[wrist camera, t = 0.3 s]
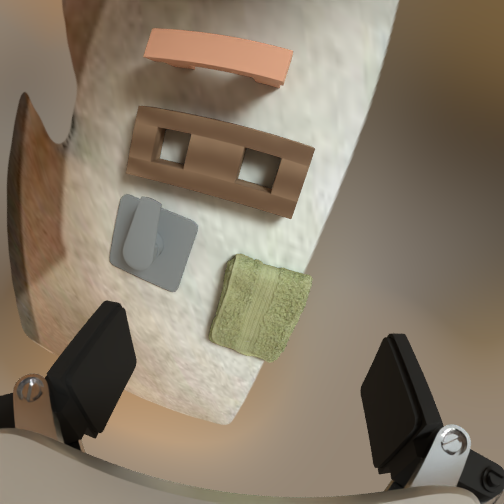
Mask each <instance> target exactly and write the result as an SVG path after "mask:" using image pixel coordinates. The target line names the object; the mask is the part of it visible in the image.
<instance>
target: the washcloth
mask: <svg viewBox="0 0 504 504" xmlns="http://www.w3.org/2000/svg"><path fill="white" fill-rule="evenodd" d="M224 276H225V277H224V280H223V281H224V285H223V289H222V293H221V298H220V302H219V304H218V308H217V311H216V316H215V318H214V320H213V323H212V325H211V328H210V332H209V337H208V338H209V340H210V341H211V342H213V343H215V344H218V345H220V346H224V347H227V348H230V349H233V350H235V351H237V352H239V353H241V354H243V355H246V356H255V357H258V358H261V359H263V360H265V361H267V362H273V361H274V360H277V358H278V357H279V356H280V354H281V352H283V351H284V349H285V347H286V346H287V345H286V344H287V341H288V340H289V337H290V335H291V333H292V332H293V329H294V327H295V325H296V324H297V322H298V320H299V316H300V314H301V313H302V312H303V309H304V307H305V305H306V301H307V298H308V294H309V292H310V288H311V285H312V283H311V282H312V280H313V279H312V277H311V276H310V275H305V274H302V273H298V272H294V271H290V270H288V269H285V268H276V267H273V266H270V265H266V264H263V263H262V262H261V261H259V260H257V259H255V260H253V259H252V258H249V257H248V256H245V255H243V254H236V255H235V258H233V259H232V260H230V261H228V262H227V269H226V270H225V275H224Z"/></svg>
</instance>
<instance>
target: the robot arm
mask: <svg viewBox="0 0 504 504" xmlns="http://www.w3.org/2000/svg"><path fill="white" fill-rule="evenodd" d="M135 367H136V356H135V352H134V347H133V343H132V339H131V335H130V330H129V325H128V321H127V316H126V311H125V309H124V308H122V306H121V304H120V303H117V302H112V301H104V302H103V303H102V304H101V306H100V307H99V308H98V309H97V310H96V312H95V313H94V314H93V315H92V316H91V318H90V319H89V320H88V321H87V322H86V324H85V325H84V326H83V327H82V329H81V330H80V331H79V332H78V334H77V335H76V336H75V337H74V339H73V340H72V341H71V342H70V344H69V345H68V346H67V347H66V349H65V350H64V351H63V353H62V354H61V355H60V356H59V358H58V359H57V360H56V362H55V363H54V364H53V366H52V367H51V368H50V370H49V371H48V372H47V376H46V377H45V378H44V377H42V376H41V375H39V374H27V375H25V376H23V377H21V378H20V379H19V380H18V381H17V382H16V384H15V386H14V389H13V393H10V394H6V395H3V396H0V504H504V470H503V468H502V467H501V466H499V465H498V464H496V463H494V462H493V461H491V460H489V459H487V458H485V457H483V456H482V455H480V454H478V453H476V452H474V451H473V450H471V449H470V447H471V441H470V437H469V435H468V433H467V432H466V431H465V430H464V429H463V428H461V427H460V426H457V425H447V426H443V423H442V420H441V417H440V415H439V412H438V409H437V407H436V404H435V401H434V399H433V396H432V394H431V391H430V389H429V387H428V384H427V382H426V379H425V377H424V374H423V372H422V370H421V368H420V365H419V363H418V361H417V359H416V356H415V354H414V352H413V350H412V347H411V345H410V343H409V341H408V339H407V337H406V335H405V334H389V335H388V337H385V338H384V339H383V341H382V343H381V345H380V347H379V350H378V352H377V354H376V356H375V359H374V361H373V363H372V365H371V367H370V369H369V372H368V374H367V376H366V378H365V380H364V382H363V384H362V386H361V397H362V402H363V408H364V412H365V418H366V423H367V429H368V434H369V440H370V446H371V452H372V457H373V464H374V467H375V468H378V472H379V474H385V473H391V479H392V480H391V481H390V483H389V484H388V486H387V487H386V489H385V490H384V492H376V493H368V494H359V495H348V496H334V497H271V496H257V495H245V494H237V493H228V492H222V491H216V490H210V489H204V488H198V487H193V486H188V485H184V484H180V483H175V482H171V481H167V480H163V479H159V478H156V477H152V476H149V475H145V474H142V473H139V472H136V471H132V470H129V469H126V468H124V467H121V466H118V465H115V464H112V463H109V462H107V461H104V460H102V459H99V458H96V457H94V456H91V455H89V454H87V453H85V450H84V447H83V443H82V440H81V439H82V437H83V435H84V434H86V435H89V436H90V437H93V438H96V437H97V435H98V433H101V432H103V430H104V428H105V426H106V424H107V422H108V420H109V418H110V416H111V414H112V412H113V410H114V408H115V406H116V404H117V402H118V400H119V398H120V396H121V394H122V392H123V390H124V388H125V386H126V384H127V382H128V380H129V379H130V377H131V375H132V373H133V371H134V369H135Z"/></svg>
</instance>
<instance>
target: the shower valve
mask: <svg viewBox="0 0 504 504" xmlns="http://www.w3.org/2000/svg"><path fill="white" fill-rule="evenodd" d="M161 206H162V204H160V203H159V202H158V201H156V200H154V199H151V198H148V197H141V199H139V198H136V197H134V196H132V195H128V194H127V195H124V196H123V197H122V198H121V200H120V205H119V209H118V214H117V219H116V224H115V229H114V234H113V240H112V246H111V252H110V262H111V264H112V265H114V266H116V267H118V268H120V269H122V270H124V271H126V272H128V273H130V274H133V275H135V276H137V277H139V278H141V279H143V280H146V281H148V282H150V283H152V284H155V285H157V286H159V287H161V288H164V289H166V290H168V291H171V292H175V291H176V290H177V289H178V287H179V284H180V281H181V278H182V275H183V272H184V269H185V266H186V263H187V260H188V257H189V254H190V251H191V248H192V245H193V242H194V240H195V237H196V234H197V231H198V225H197V224H196V223H195V222H194V221H192V220H190V219H187V218H185V217H183V216H180V215H178V214H175V213H173V212H170V211H168V210H166V209H163V208H161Z"/></svg>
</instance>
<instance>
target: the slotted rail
mask: <svg viewBox="0 0 504 504" xmlns="http://www.w3.org/2000/svg"><path fill="white" fill-rule="evenodd" d="M166 129H171V130H175V131H180V132H185V133H189V134H191V138H190V142H189V146H188V151H187V155H186V159H185V164H180V163H176V162H172V161H168V160H164V159H160V154H161V149H162V144H163V140H164V135H165V131H166ZM246 148H249V149H253V150H256V151H260V152H263V153H267V154H270V155H273V156H277V157H280V158H281V161H280V164H279V167H278V170H277V173H276V177H275V180H274V183H273V186H272V189H271V188H268V187H265V186H261V185H258V184H254V183H251V182H248V181H244V180H241V179H238V177H239V173H240V169H241V166H242V162H243V159H244V155H245V152H246ZM314 150H315V148H313V147H311V146H308V145H305V144H302V143H299V142H296V141H293V140H289V139H286V138H283V137H280V136H276V135H273V134H270V133H266V132H263V131H259V130H255V129H252V128H248V127H244V126H240V125H237V124H233V123H229V122H224V121H220V120H216V119H212V118H207V117H203V116H198V115H193V114H188V113H183V112H178V111H173V110H167V109H161V108H155V107H149V106H139V108H138V112H137V116H136V121H135V126H134V131H133V136H132V141H131V146H130V152H129V158H128V164H127V170H126V173H127V174H131V175H135V176H139V177H143V178H147V179H151V180H155V181H159V182H163V183H167V184H170V185H174V186H178V187H182V188H186V189H189V190H193V191H197V192H200V193H204V194H208V195H211V196H215V197H218V198H222V199H225V200H229V201H232V202H236V203H239V204H243V205H246V206H249V207H253V208H256V209H260V210H263V211H266V212H269V213H273V214H276V215H279V216H283V217H286V218H289V219H291V218H292V216H293V213H294V210H295V207H296V204H297V201H298V198H299V195H300V192H301V189H302V186H303V183H304V180H305V178H306V175H307V172H308V169H309V166H310V163H311V160H312V157H313V153H314Z"/></svg>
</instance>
